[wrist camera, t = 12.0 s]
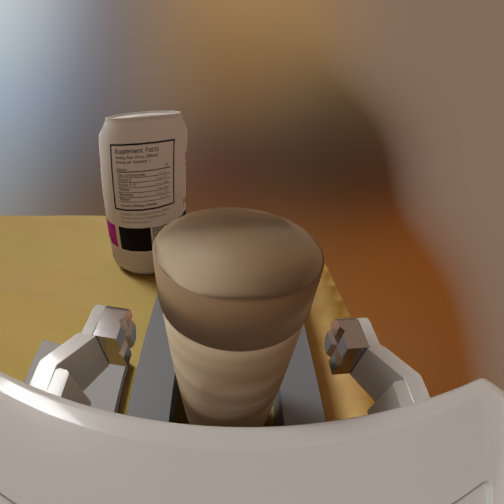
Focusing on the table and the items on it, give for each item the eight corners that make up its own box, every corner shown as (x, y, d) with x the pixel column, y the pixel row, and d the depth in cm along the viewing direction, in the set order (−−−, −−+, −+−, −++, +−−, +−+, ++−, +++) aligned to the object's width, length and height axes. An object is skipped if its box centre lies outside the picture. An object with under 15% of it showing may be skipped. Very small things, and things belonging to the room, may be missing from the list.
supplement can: (100, 261, 26) (81, 121, 18) (147, 230, 33) (143, 110, 25) (154, 289, 24) (142, 119, 16) (200, 248, 30) (205, 111, 22)
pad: (108, 463, 10) (104, 461, 10) (14, 424, 9) (9, 421, 9) (129, 363, 17) (127, 358, 16) (46, 344, 16) (43, 339, 16)
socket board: (333, 575, 5) (353, 581, 3) (127, 574, 4) (111, 581, 2) (287, 298, 25) (292, 276, 23) (167, 292, 24) (164, 269, 22)
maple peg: (223, 469, 11) (233, 341, 4) (174, 418, 14) (125, 234, 7) (276, 425, 14) (352, 253, 7) (227, 383, 17) (242, 197, 10)
